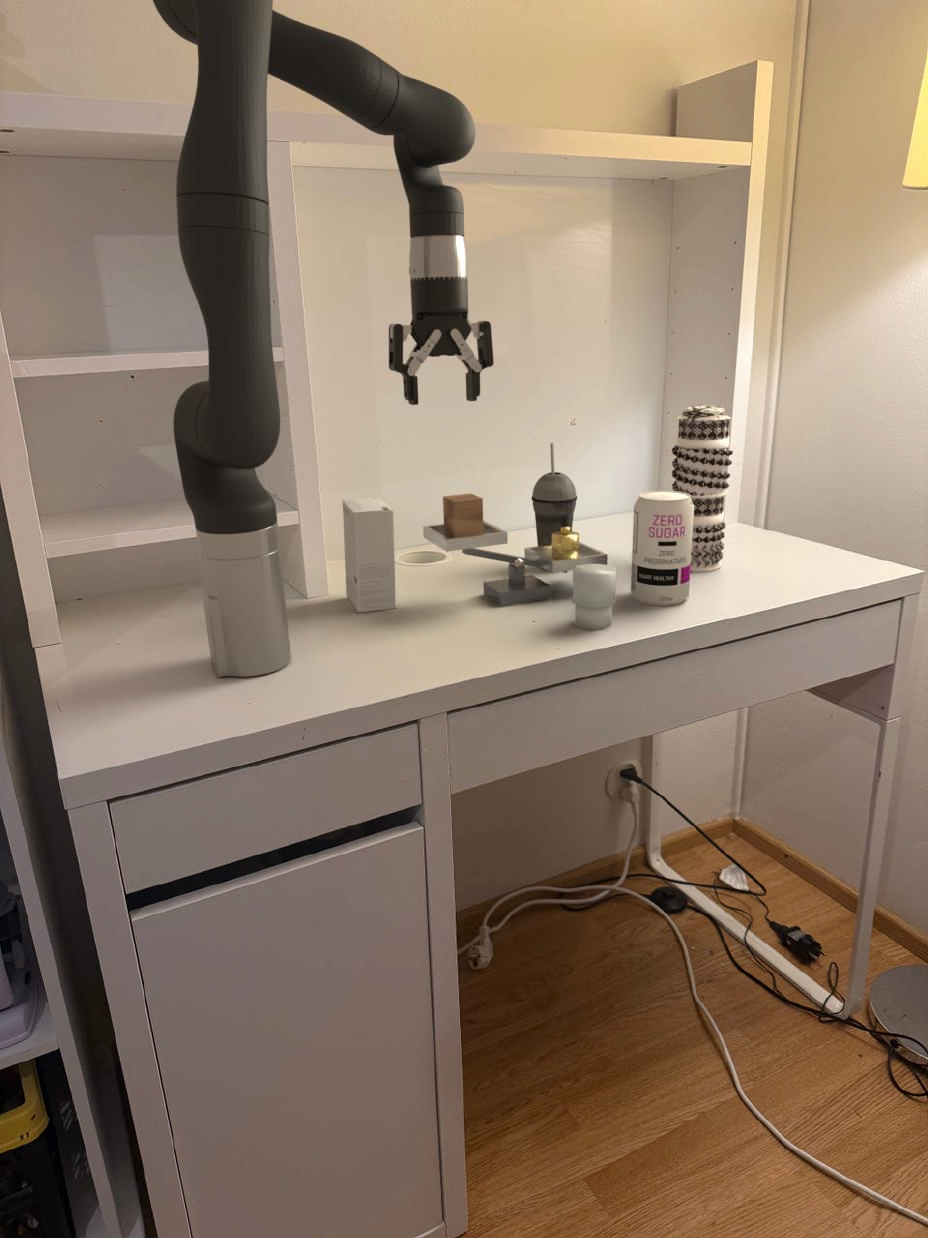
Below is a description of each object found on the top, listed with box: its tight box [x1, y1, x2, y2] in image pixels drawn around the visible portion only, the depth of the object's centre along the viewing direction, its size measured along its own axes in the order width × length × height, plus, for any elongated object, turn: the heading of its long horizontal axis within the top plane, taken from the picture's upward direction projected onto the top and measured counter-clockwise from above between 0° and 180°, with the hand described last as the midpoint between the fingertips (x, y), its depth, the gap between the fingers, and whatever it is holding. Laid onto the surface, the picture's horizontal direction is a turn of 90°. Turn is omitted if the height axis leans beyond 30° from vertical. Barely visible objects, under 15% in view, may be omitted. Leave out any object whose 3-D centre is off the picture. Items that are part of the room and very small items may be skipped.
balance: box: [422, 520, 609, 607], centre depth 127 cm, size 25×9×11 cm, turn 112°
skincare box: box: [341, 497, 397, 613], centre depth 126 cm, size 8×6×15 cm
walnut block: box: [442, 492, 484, 538], centre depth 122 cm, size 4×4×6 cm
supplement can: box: [630, 489, 694, 607], centre depth 124 cm, size 8×8×15 cm
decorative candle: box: [671, 405, 734, 573], centre depth 138 cm, size 9×9×25 cm
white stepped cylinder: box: [572, 564, 617, 631], centre depth 116 cm, size 6×6×8 cm
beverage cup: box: [530, 442, 578, 573], centre depth 140 cm, size 7×7×20 cm
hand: (443, 402), depth 120 cm, fingers open, 8 cm apart
